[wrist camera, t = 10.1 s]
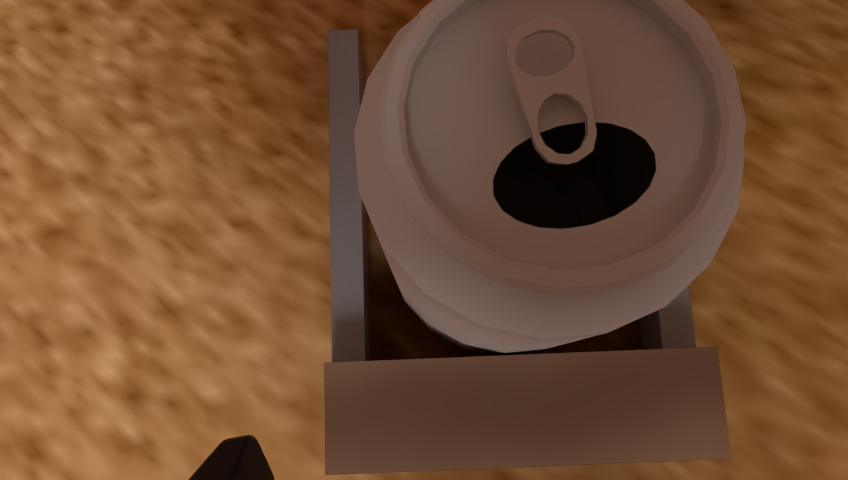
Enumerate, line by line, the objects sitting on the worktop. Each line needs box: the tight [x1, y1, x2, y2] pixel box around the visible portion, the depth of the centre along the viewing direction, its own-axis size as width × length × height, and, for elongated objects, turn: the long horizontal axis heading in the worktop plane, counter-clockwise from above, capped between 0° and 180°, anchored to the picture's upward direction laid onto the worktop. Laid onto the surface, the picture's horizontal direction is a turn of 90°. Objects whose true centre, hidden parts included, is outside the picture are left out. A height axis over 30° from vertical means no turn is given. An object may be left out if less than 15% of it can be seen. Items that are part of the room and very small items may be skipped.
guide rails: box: [328, 29, 696, 362], centre depth 22 cm, size 11×11×2 cm
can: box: [354, 0, 746, 356], centre depth 17 cm, size 8×8×12 cm
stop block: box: [324, 347, 731, 475], centre depth 20 cm, size 3×11×4 cm, turn 92°
